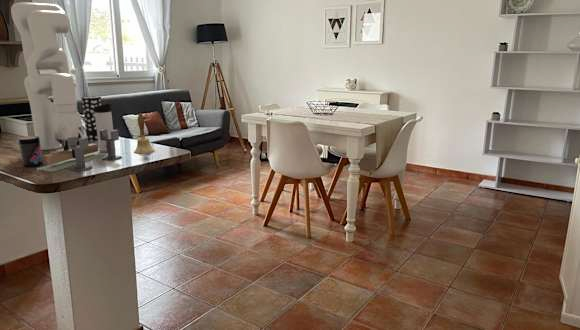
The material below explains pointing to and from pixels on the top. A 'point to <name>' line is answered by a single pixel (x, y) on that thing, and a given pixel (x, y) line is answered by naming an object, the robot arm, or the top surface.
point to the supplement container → (30, 151)
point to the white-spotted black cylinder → (90, 116)
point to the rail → (66, 155)
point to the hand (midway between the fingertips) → (72, 157)
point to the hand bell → (143, 139)
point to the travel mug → (103, 124)
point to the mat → (69, 162)
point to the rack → (84, 145)
